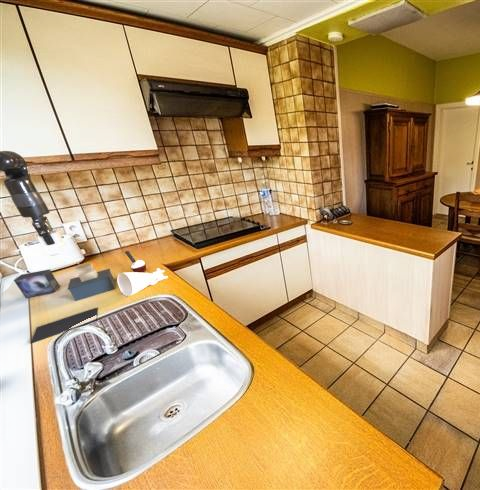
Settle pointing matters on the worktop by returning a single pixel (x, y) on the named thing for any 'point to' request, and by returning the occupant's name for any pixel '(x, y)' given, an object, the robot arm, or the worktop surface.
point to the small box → (37, 283)
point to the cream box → (86, 272)
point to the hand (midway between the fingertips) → (52, 242)
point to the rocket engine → (138, 281)
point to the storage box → (92, 285)
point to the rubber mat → (61, 325)
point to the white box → (55, 237)
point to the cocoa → (136, 264)
